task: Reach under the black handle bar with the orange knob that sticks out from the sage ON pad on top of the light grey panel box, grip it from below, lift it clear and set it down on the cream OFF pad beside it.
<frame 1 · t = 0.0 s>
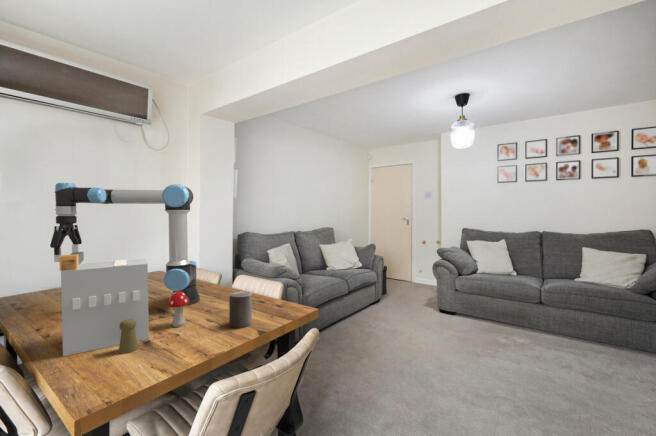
hand: (67, 259, 145), 28 cm above the table, tool pointing down, fingers open, 13 cm apart
decorative mushroom: (178, 325, 135), on the table
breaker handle: (73, 264, 117), point 30 cm above the table, touching breaker panel
smoothie: (73, 312, 154), on the table
cork: (128, 350, 111), on the table
breaker panel: (109, 339, 120), on the table
pillar candle: (240, 324, 135), on the table
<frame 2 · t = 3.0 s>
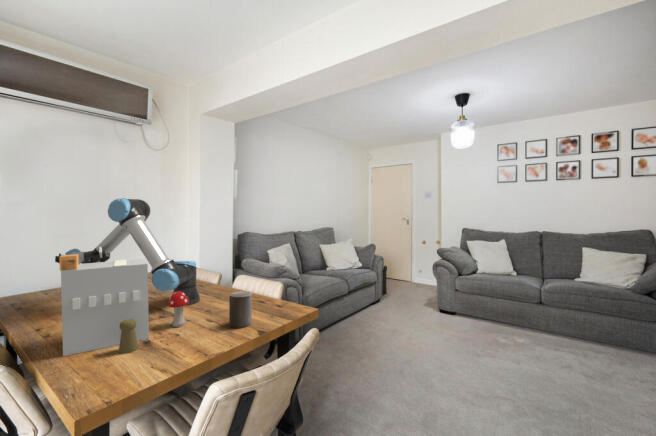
hand: (81, 250, 137), 33 cm above the table, tool pointing upward, fingers open, 13 cm apart
nothing on the table moved.
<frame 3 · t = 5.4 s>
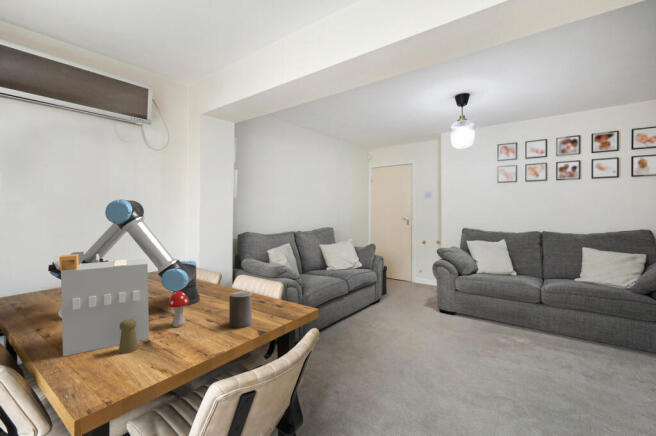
hand: (76, 258, 126), 31 cm above the table, tool pointing upward, fingers open, 13 cm apart
smoothie: (75, 307, 152), point 3 cm above the table
everything else where it was.
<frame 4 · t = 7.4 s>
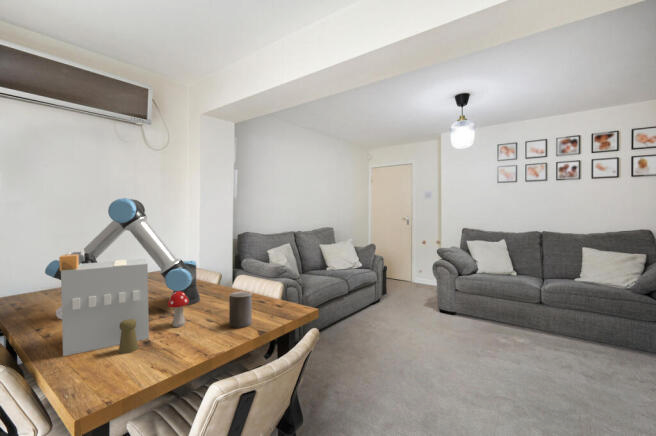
hand: (75, 252, 121), 35 cm above the table, tool pointing upward, fingers closed on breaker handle, 3 cm apart
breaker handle: (73, 264, 117), point 30 cm above the table, touching breaker panel, gripper
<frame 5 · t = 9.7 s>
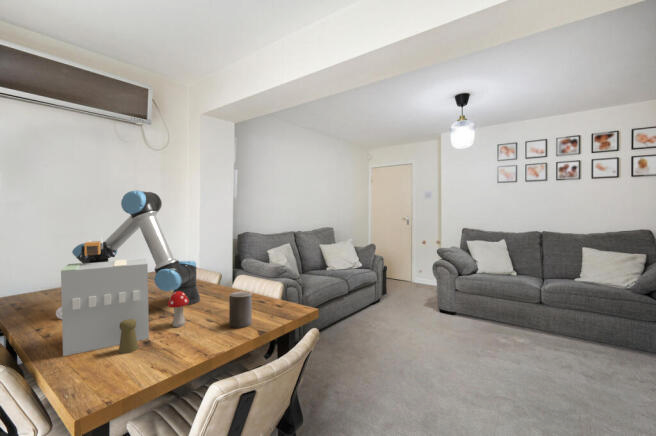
hand: (95, 240, 132), 38 cm above the table, tool pointing upward, fingers closed on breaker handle, 3 cm apart
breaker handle: (94, 251, 128), point 34 cm above the table, touching gripper
everything else where it was.
when the fingers open (36 cm above the table, at t = 12.4 s): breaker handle drops 1 cm, resting on breaker panel.
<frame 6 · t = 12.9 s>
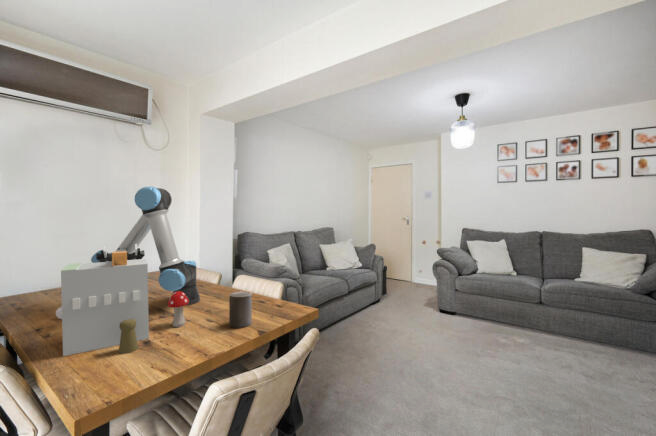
hand: (120, 247, 130), 35 cm above the table, tool pointing upward, fingers open, 10 cm apart
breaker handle: (120, 260, 125), point 30 cm above the table, touching breaker panel
everything else where it was.
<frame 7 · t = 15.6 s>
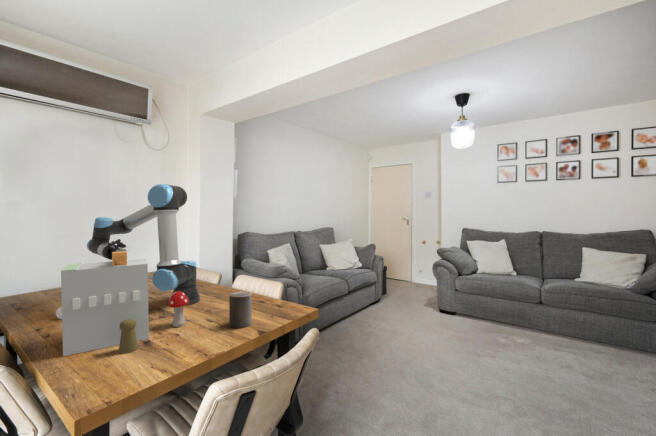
hand: (135, 261, 145), 27 cm above the table, tool horizontal, fingers open, 13 cm apart
nothing on the table moved.
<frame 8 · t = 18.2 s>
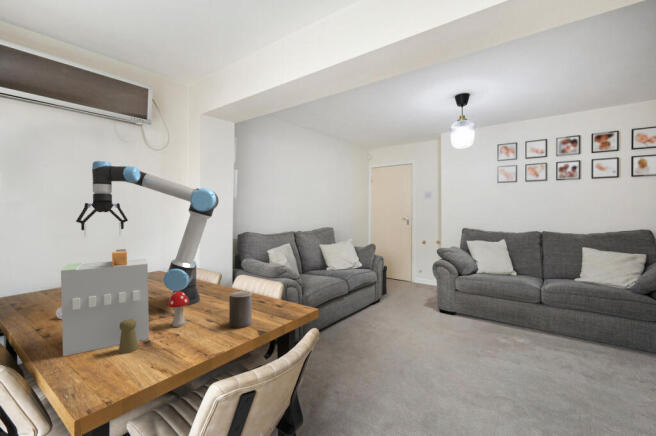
hand: (103, 236, 148), 39 cm above the table, tool pointing down, fingers open, 13 cm apart
nothing on the table moved.
at the end: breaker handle inside the target area on the breaker panel (0.1 cm from its centre), point 30.3 cm above the breaker panel's base; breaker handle moved 15.0 cm from its start; the gripper is holding nothing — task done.
